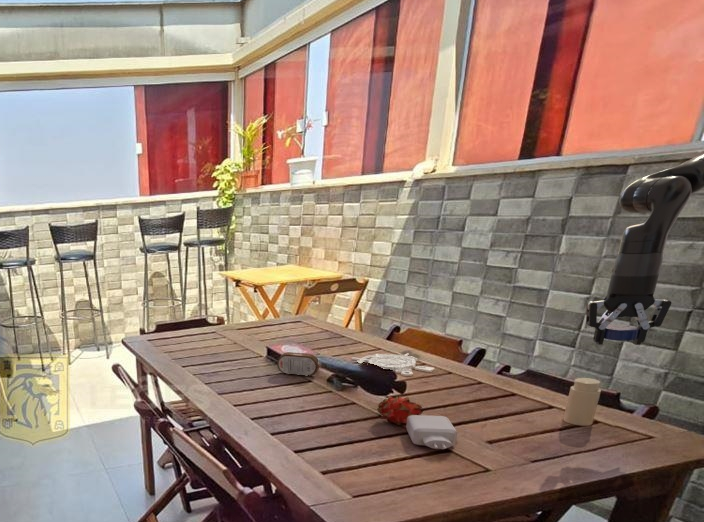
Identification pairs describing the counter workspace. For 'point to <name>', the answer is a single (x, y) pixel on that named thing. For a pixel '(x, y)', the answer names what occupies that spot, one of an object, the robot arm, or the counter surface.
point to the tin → (298, 363)
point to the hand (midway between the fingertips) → (617, 343)
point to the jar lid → (621, 332)
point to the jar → (582, 402)
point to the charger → (431, 431)
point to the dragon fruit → (398, 409)
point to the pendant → (395, 363)
